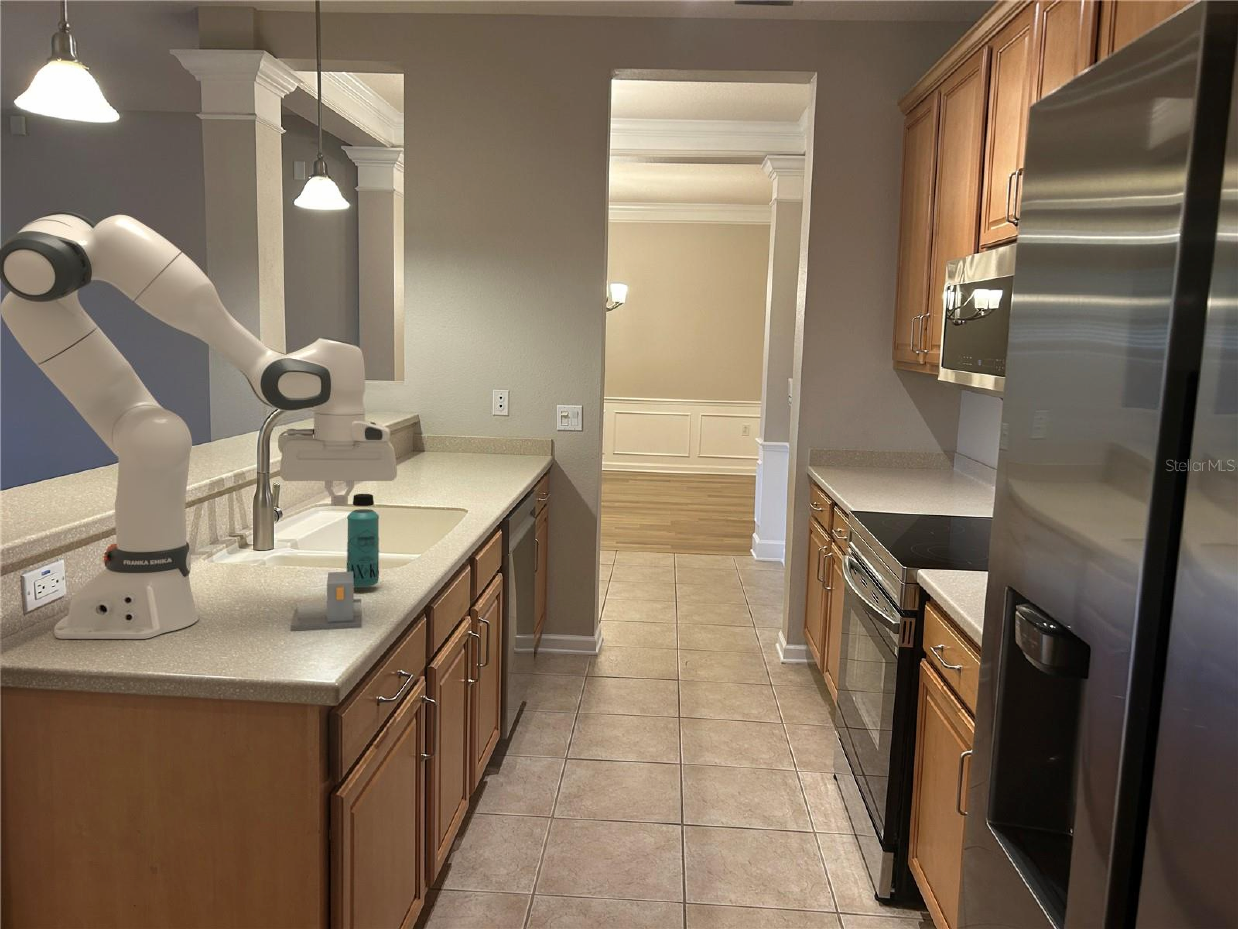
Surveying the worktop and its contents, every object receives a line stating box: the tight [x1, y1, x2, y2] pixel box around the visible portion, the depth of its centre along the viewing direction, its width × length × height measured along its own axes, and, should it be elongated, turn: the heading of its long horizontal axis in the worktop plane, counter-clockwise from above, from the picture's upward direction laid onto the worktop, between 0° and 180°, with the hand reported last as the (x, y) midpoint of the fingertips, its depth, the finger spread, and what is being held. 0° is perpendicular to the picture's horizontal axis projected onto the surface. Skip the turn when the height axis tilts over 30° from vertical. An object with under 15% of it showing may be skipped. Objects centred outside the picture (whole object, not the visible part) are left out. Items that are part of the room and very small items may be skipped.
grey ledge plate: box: [290, 598, 362, 632], centre depth 167 cm, size 12×10×4 cm
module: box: [326, 571, 355, 622], centre depth 168 cm, size 4×9×7 cm, turn 16°
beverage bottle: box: [346, 493, 380, 588], centre depth 187 cm, size 6×7×20 cm
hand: (339, 505), depth 166 cm, fingers closed
